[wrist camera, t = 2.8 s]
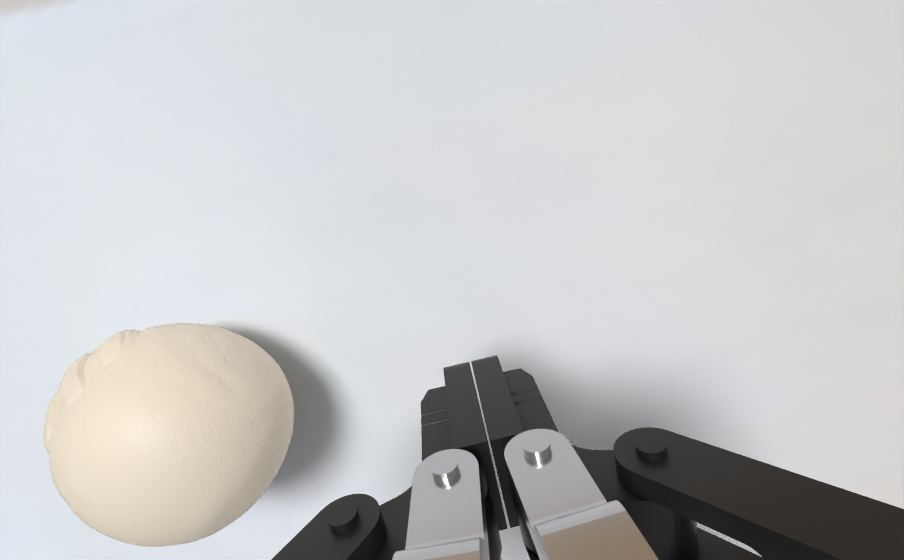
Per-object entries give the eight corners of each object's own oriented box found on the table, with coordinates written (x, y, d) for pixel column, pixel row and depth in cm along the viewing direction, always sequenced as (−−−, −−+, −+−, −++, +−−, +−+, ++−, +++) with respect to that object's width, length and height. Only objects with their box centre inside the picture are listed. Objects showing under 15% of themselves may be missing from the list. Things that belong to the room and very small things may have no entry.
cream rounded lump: (166, 258, 18) (27, 326, 11) (340, 354, 19) (304, 462, 13) (91, 398, 19) (-72, 529, 13) (260, 477, 21) (191, 629, 14)
